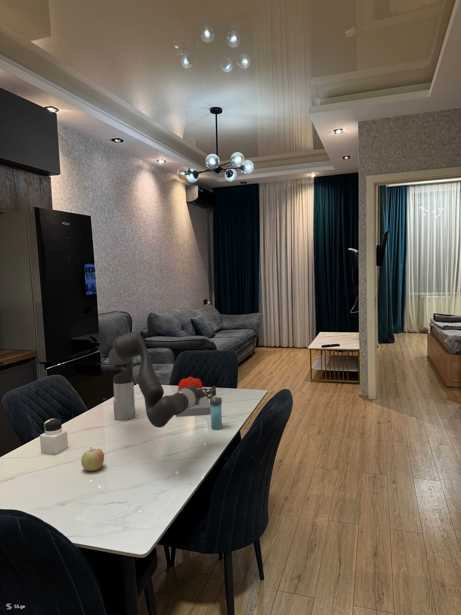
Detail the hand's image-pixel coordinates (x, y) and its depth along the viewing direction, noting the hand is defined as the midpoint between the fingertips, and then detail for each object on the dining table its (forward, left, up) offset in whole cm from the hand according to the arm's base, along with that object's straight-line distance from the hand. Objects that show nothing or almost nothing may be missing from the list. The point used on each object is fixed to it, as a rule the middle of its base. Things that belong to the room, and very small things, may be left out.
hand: (204, 387), depth 170 cm
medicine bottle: (-59, -2, -21) cm, 63 cm away
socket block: (-5, +36, -21) cm, 41 cm away
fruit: (-40, -21, -21) cm, 50 cm away
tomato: (-6, +58, -21) cm, 61 cm away
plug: (+5, +10, -21) cm, 23 cm away
